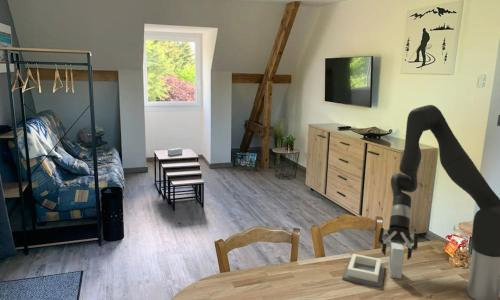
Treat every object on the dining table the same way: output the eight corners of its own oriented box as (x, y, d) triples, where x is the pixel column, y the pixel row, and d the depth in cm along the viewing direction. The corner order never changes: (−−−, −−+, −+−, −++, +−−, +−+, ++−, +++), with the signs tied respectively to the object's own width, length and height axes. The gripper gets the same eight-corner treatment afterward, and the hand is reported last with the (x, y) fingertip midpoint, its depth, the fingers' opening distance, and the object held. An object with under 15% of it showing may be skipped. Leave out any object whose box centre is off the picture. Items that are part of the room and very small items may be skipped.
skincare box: (401, 278, 146) (404, 250, 143) (390, 277, 147) (392, 248, 144) (399, 270, 152) (401, 242, 149) (387, 269, 153) (390, 241, 150)
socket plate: (384, 267, 154) (385, 258, 153) (381, 287, 140) (382, 277, 139) (349, 260, 160) (349, 251, 159) (342, 279, 145) (343, 269, 145)
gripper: (381, 211, 155) (376, 249, 147) (420, 217, 150) (416, 257, 142) (381, 219, 161) (376, 256, 153) (418, 224, 155) (415, 263, 148)
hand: (396, 256), depth 147 cm, fingers open, 8 cm apart
